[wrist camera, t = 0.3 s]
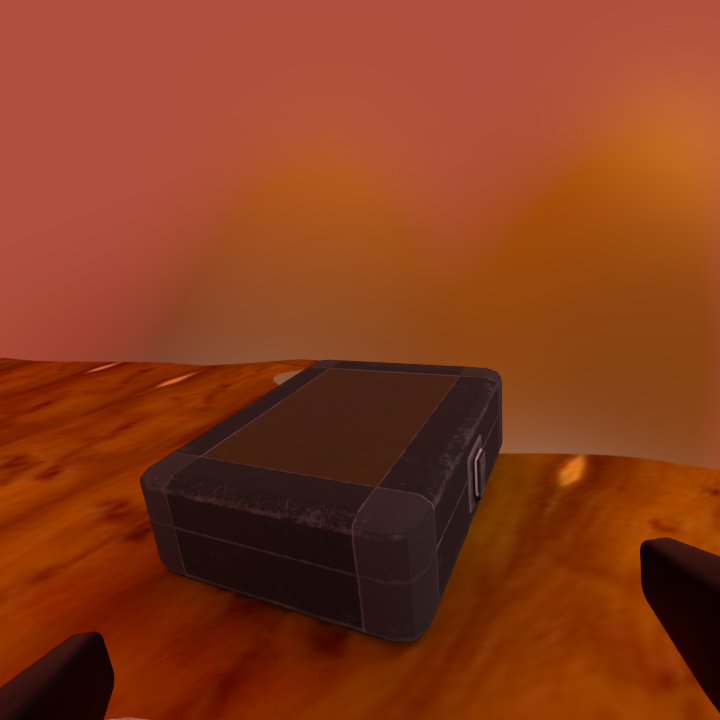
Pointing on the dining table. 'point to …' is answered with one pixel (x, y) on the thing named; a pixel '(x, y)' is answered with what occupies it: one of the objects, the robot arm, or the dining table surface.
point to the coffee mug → (127, 719)
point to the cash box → (335, 492)
